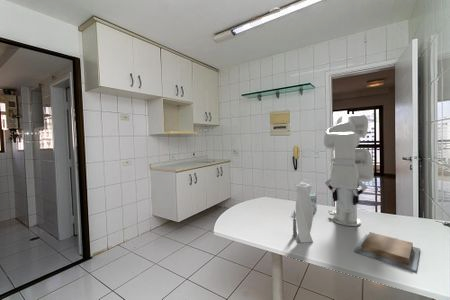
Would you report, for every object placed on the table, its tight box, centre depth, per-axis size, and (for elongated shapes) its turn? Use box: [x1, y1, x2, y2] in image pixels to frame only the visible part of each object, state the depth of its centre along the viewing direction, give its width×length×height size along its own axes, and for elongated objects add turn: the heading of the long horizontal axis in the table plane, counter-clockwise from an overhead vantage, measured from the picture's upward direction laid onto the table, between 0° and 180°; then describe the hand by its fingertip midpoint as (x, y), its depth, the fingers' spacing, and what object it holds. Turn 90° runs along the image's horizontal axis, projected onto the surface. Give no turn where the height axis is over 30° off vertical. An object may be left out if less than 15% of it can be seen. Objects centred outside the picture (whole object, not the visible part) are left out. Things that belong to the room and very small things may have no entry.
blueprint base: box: [353, 231, 421, 273], centre depth 80 cm, size 18×18×3 cm
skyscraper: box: [292, 178, 314, 244], centre depth 92 cm, size 8×8×28 cm
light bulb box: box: [310, 192, 318, 214], centre depth 127 cm, size 11×7×11 cm, turn 58°
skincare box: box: [336, 184, 355, 212], centre depth 89 cm, size 6×4×12 cm
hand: (345, 202), depth 89 cm, fingers closed on skincare box, 7 cm apart
